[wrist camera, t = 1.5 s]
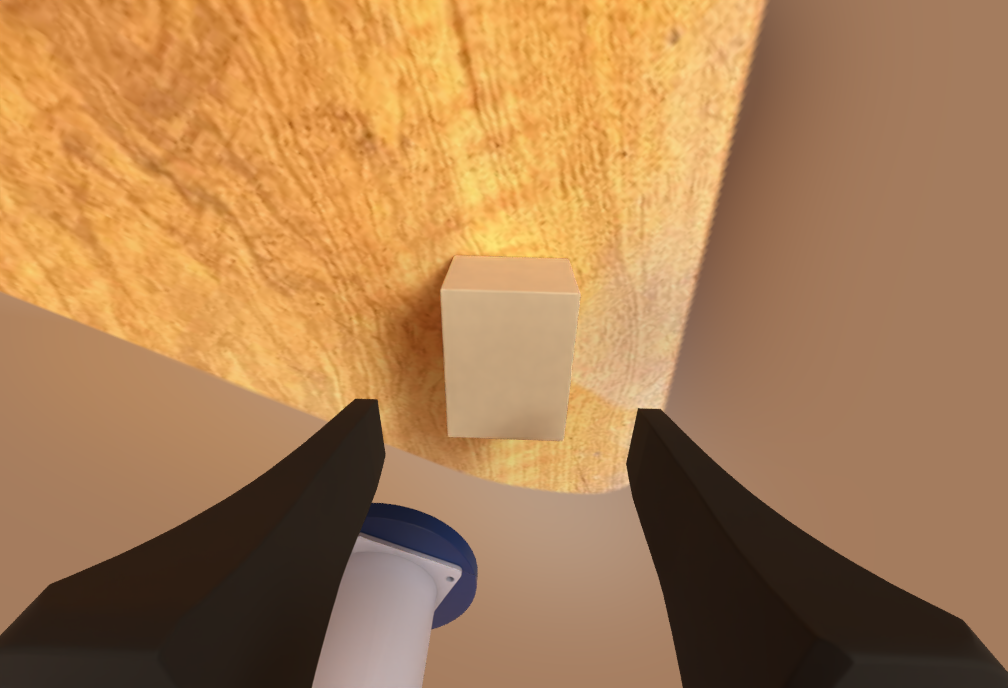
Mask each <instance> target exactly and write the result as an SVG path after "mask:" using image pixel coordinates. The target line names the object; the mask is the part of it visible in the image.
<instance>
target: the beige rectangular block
mask: <svg viewBox="0 0 1008 688" xmlns="http://www.w3.org/2000/svg"><path fill="white" fill-rule="evenodd" d="M580 297H581V294H580V291H579V288H578V285H577V282H576V279H575V276H574V273H573V270H572V267H571V264H570V261H569V259H563V258H529V257H496V256H462V255H455V256H454V257H453V260H452V262H451V264H450V267H449V269H448V272H447V274H446V277H445V279H444V282H443V284H442V287H441V289H440V300H441V320H442V339H443V359H444V378H445V397H446V417H447V435H448V437H459V438H488V439H518V440H547V441H563V440H564V435H565V427H566V418H567V410H568V401H569V392H570V384H571V375H572V366H573V358H574V349H575V340H576V332H577V323H578V314H579V306H580Z"/></svg>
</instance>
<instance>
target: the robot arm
mask: <svg viewBox="0 0 1008 688" xmlns="http://www.w3.org/2000/svg"><path fill="white" fill-rule="evenodd" d="M384 459H385V448H384V441H383V434H382V427H381V421H380V414H379V407H378V400H377V399H355V400H354V401H352V402H351V403H350V404H349V405H348V406H346V407H345V408H344V409H343V410H342V411H341V412H340V413H338V414H337V415H336V416H335V417H334V418H333V419H332V420H330V421H329V422H328V423H327V424H326V425H325V426H324V427H322V428H321V429H320V430H319V431H318V432H316V433H315V434H314V435H313V436H312V437H311V438H309V439H308V440H307V441H306V442H305V443H303V444H302V445H301V446H300V447H298V448H297V449H296V450H295V451H293V452H292V453H291V454H289V455H288V456H287V457H285V458H284V459H283V460H281V461H280V462H279V463H278V464H276V465H275V466H274V467H273V468H271V469H270V470H268V471H267V472H266V473H264V474H263V475H261V476H260V477H258V478H257V479H256V480H254V481H253V482H251V483H250V484H248V485H246V486H245V487H243V488H242V489H241V490H239V491H237V492H236V493H234V494H233V495H231V496H229V497H228V498H226V499H225V500H223V501H221V502H220V503H218V504H216V505H214V506H213V507H211V508H209V509H207V510H205V511H204V512H202V513H200V514H198V515H197V516H195V517H193V518H192V519H190V520H188V521H186V522H184V523H183V524H181V525H179V526H177V527H175V528H173V529H171V530H169V531H167V532H165V533H163V534H161V535H159V536H157V537H155V538H153V539H151V540H149V541H147V542H145V543H143V544H141V545H139V546H137V547H135V548H133V549H131V550H128V551H126V552H124V553H122V554H120V555H118V556H115V557H113V558H111V559H109V560H106V561H104V562H102V563H99V564H97V565H95V566H92V567H90V568H88V569H85V570H83V571H81V572H79V573H76V574H74V575H71V576H69V577H67V578H64V579H62V580H59V581H57V582H54V583H52V584H50V585H49V586H48V587H47V588H46V589H45V590H44V591H43V592H42V593H41V594H40V595H39V596H38V597H37V598H36V599H35V600H34V601H33V602H32V603H31V604H30V605H29V606H28V607H27V608H26V610H25V611H23V612H22V614H21V615H20V616H19V617H18V618H17V619H16V620H15V621H14V622H13V623H12V624H11V625H10V626H9V627H8V628H7V629H6V630H5V631H4V632H3V633H2V634H1V635H0V688H422V683H423V677H424V671H425V665H426V658H427V652H428V646H429V640H430V634H431V628H432V621H433V615H434V611H435V609H436V608H437V607H438V606H439V604H440V603H441V602H442V600H443V599H444V598H445V596H446V595H447V594H448V593H449V591H450V590H451V589H452V587H453V586H454V585H455V584H456V582H457V581H458V580H459V578H460V577H461V575H462V568H461V567H460V566H458V565H456V564H453V563H450V562H447V561H444V560H441V559H438V558H435V557H432V556H429V555H426V554H423V553H421V552H418V551H415V550H412V549H409V548H406V547H403V546H400V545H397V544H394V543H391V542H388V541H385V540H382V539H379V538H376V537H374V536H371V535H368V534H365V533H362V532H360V530H361V528H362V525H363V523H364V520H365V518H366V515H367V513H368V510H369V508H370V505H371V503H372V500H373V498H374V495H375V492H376V490H377V487H378V483H379V479H380V476H381V471H382V468H383V464H384ZM626 465H627V471H628V476H629V482H630V487H631V491H632V497H633V500H634V504H635V507H636V510H637V513H638V516H639V519H640V522H641V526H642V528H643V532H644V535H645V538H646V541H647V544H648V546H649V550H650V553H651V556H652V559H653V562H654V565H655V568H656V571H657V574H658V577H659V580H660V585H661V588H662V591H663V595H664V600H665V604H666V608H667V613H668V618H669V622H670V626H671V631H672V636H673V641H674V645H675V650H676V655H677V660H678V665H679V670H680V674H681V680H682V685H683V688H1008V672H1007V671H1006V670H1005V668H1004V667H1003V666H1002V665H1001V664H1000V663H999V661H998V660H997V659H996V658H995V657H994V656H993V654H992V653H991V652H990V651H989V650H988V649H987V647H985V645H984V644H983V643H982V642H981V641H980V639H979V638H978V637H977V636H976V635H975V633H974V632H973V631H972V630H971V629H970V628H969V626H968V625H967V624H966V623H965V622H964V621H963V620H962V619H960V618H958V617H956V616H954V615H952V614H950V613H948V612H946V611H944V610H942V609H940V608H938V607H936V606H934V605H932V604H930V603H928V602H926V601H924V600H922V599H920V598H918V597H916V596H914V595H912V594H910V593H908V592H906V591H904V590H902V589H900V588H898V587H897V586H894V585H893V584H891V583H889V582H887V581H885V580H884V579H882V578H880V577H878V576H877V575H875V574H873V573H871V572H869V571H868V570H866V569H864V568H862V567H861V566H859V565H857V564H855V563H854V562H852V561H850V560H849V559H847V558H845V557H844V556H842V555H840V554H839V553H837V552H835V551H834V550H832V549H830V548H829V547H827V546H826V545H824V544H823V543H821V542H820V541H818V540H817V539H815V538H813V537H812V536H810V535H809V534H807V533H806V532H804V531H802V530H801V529H800V528H798V527H797V526H795V525H794V524H792V523H791V522H789V521H788V520H787V519H785V518H784V517H782V516H781V515H780V514H778V513H777V512H776V511H774V510H773V509H772V508H770V507H769V506H767V505H766V504H765V503H764V502H762V501H761V500H760V499H758V498H757V497H756V496H754V495H753V494H752V493H751V492H749V491H748V490H747V489H746V488H745V487H743V486H742V485H741V484H740V483H739V482H737V481H736V480H735V479H734V478H733V477H732V476H730V475H729V474H728V473H727V472H726V471H725V470H723V469H722V468H721V467H720V466H719V465H718V464H717V463H716V462H714V461H713V460H712V459H711V458H710V457H709V456H708V455H707V454H706V453H705V452H704V451H703V450H702V449H701V448H700V447H699V446H698V445H696V444H695V443H694V442H693V441H692V440H691V439H690V438H689V437H688V436H687V435H686V434H685V433H684V432H683V431H682V430H681V429H680V428H679V427H678V426H677V425H676V424H675V423H674V422H673V421H672V420H671V419H670V418H669V417H668V416H667V415H666V414H665V413H664V412H663V411H662V410H661V409H640V408H638V411H637V416H636V421H635V425H634V430H633V435H632V439H631V444H630V449H629V453H628V458H627V463H626Z"/></svg>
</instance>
